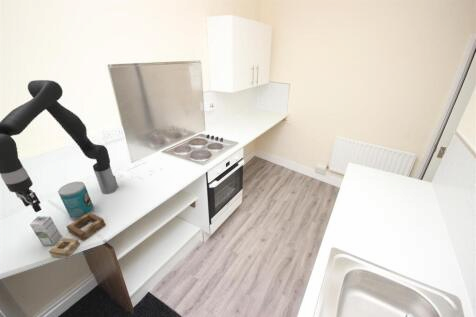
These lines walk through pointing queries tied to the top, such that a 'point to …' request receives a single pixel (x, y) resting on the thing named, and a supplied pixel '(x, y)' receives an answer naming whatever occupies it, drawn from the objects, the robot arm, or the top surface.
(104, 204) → the top surface
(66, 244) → the tan wooden square frame
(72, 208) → the food can
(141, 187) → the top surface
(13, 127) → the robot arm
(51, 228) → the syrup box
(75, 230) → the brown wooden square frame
